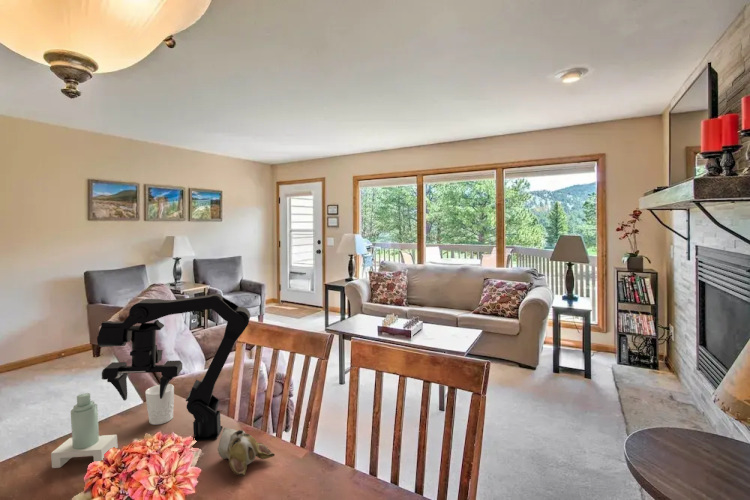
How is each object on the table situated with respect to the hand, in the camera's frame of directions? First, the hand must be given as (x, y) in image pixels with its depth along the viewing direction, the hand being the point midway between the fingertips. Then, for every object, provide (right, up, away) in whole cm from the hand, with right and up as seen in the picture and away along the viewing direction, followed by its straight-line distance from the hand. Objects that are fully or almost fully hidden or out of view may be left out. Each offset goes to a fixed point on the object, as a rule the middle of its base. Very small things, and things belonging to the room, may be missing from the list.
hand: (143, 399), depth 105 cm
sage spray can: (-12, -9, -6) cm, 16 cm away
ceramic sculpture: (+31, -14, -8) cm, 35 cm away
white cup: (-3, -12, +14) cm, 19 cm away
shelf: (-12, -14, -6) cm, 19 cm away
